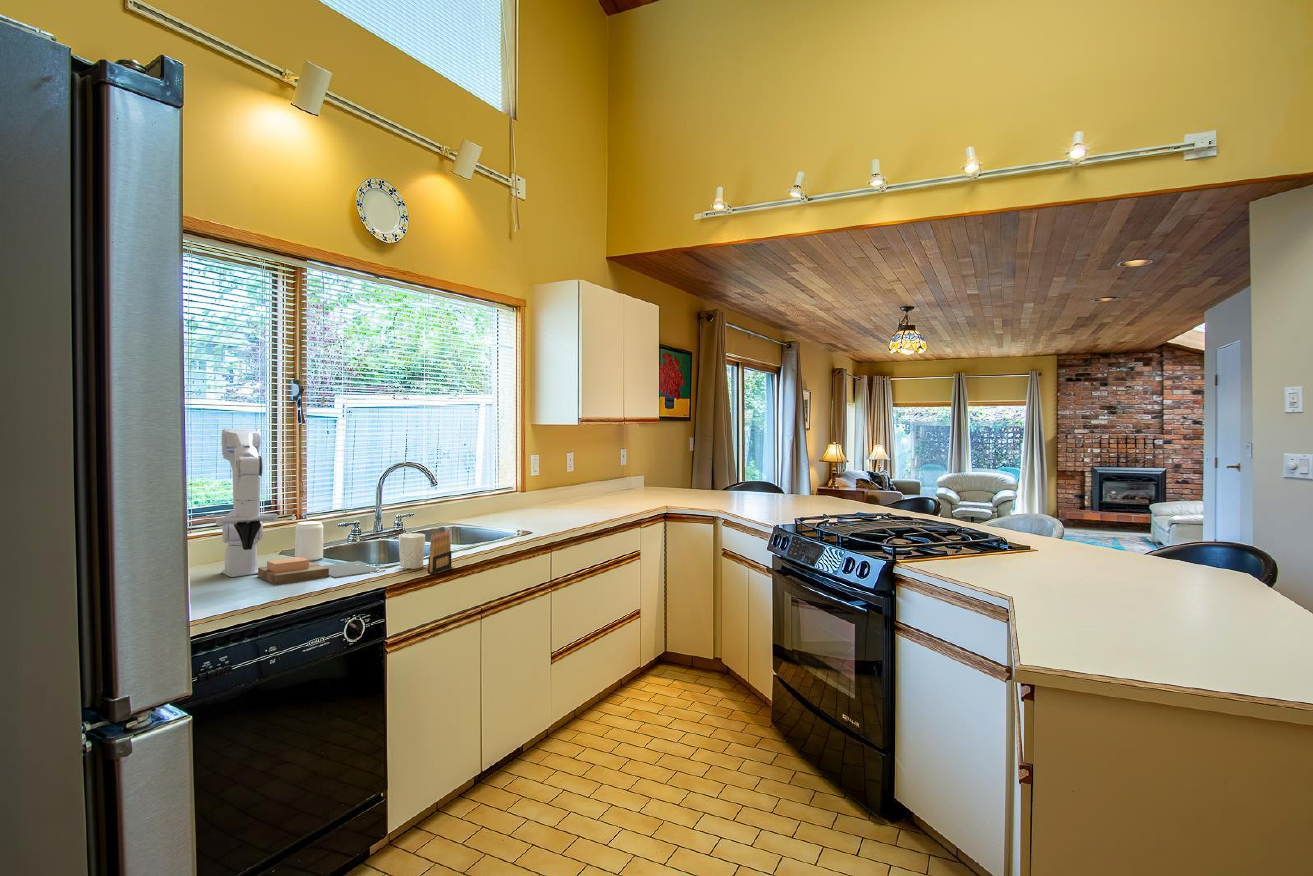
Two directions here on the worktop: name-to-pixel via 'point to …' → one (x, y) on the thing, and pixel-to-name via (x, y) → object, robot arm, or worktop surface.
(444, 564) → the ammunition clip
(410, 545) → the white cup
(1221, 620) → the worktop surface
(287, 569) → the tile
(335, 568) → the mat
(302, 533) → the beverage can
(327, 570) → the brown wooden flat slab
